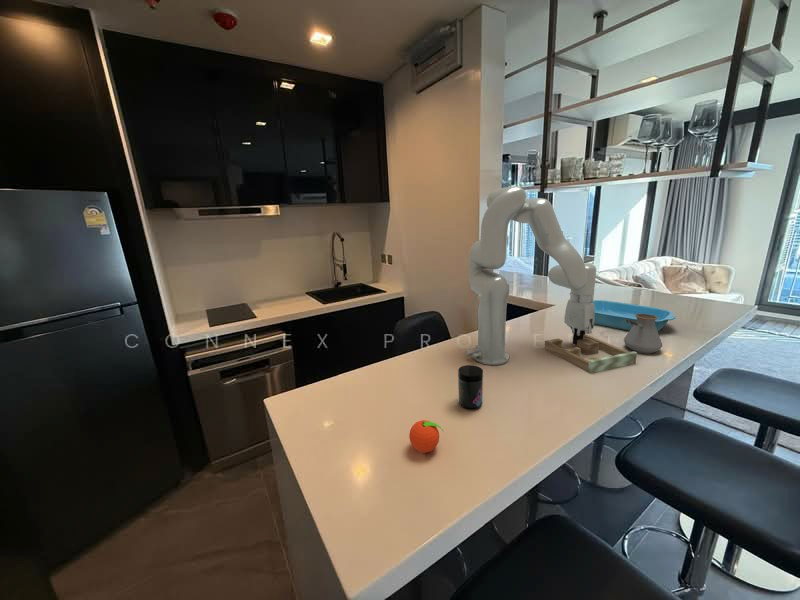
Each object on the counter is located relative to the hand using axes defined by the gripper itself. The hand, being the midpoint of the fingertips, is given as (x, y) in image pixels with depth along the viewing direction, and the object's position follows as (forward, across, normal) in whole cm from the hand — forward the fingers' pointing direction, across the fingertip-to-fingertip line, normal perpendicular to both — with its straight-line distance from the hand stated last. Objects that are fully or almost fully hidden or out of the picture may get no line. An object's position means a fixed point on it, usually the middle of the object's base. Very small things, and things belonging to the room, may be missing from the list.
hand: (577, 344), depth 126 cm
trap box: (+1, +7, -3) cm, 8 cm away
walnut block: (+1, +5, 0) cm, 5 cm away
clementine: (+1, +33, -74) cm, 81 cm away
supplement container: (+1, +20, -56) cm, 60 cm away
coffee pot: (+1, +12, +14) cm, 19 cm away
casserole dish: (+2, -13, +37) cm, 39 cm away
